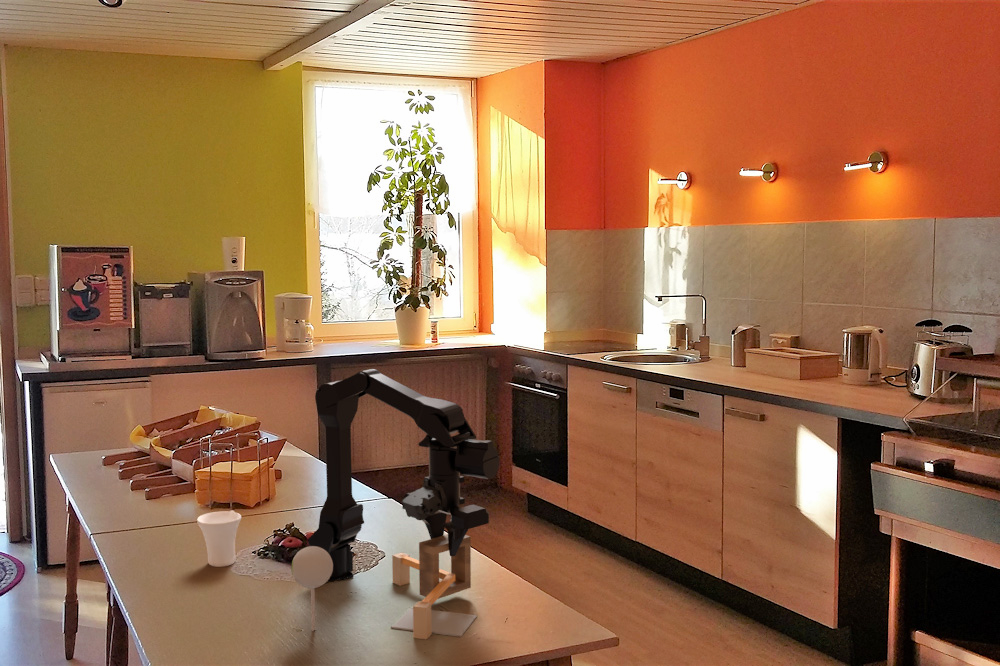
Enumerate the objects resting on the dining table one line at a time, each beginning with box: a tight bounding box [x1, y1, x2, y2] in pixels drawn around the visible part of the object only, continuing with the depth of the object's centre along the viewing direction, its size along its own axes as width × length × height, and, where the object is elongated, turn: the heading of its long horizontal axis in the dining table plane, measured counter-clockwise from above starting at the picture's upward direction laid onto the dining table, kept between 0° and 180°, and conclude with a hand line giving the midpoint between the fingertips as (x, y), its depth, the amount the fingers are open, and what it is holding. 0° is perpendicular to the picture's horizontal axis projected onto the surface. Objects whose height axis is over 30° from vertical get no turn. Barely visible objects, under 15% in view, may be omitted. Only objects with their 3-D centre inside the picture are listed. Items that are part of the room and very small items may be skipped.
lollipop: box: [290, 546, 333, 632], centre depth 172 cm, size 7×7×15 cm
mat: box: [390, 607, 477, 638], centre depth 176 cm, size 9×13×1 cm
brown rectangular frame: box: [418, 533, 472, 600], centre depth 185 cm, size 4×9×10 cm, turn 134°
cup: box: [196, 509, 242, 568], centre depth 207 cm, size 9×9×10 cm
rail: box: [391, 552, 455, 640], centre depth 183 cm, size 13×28×6 cm, turn 29°
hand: (445, 553), depth 185 cm, fingers closed on brown rectangular frame, 4 cm apart
